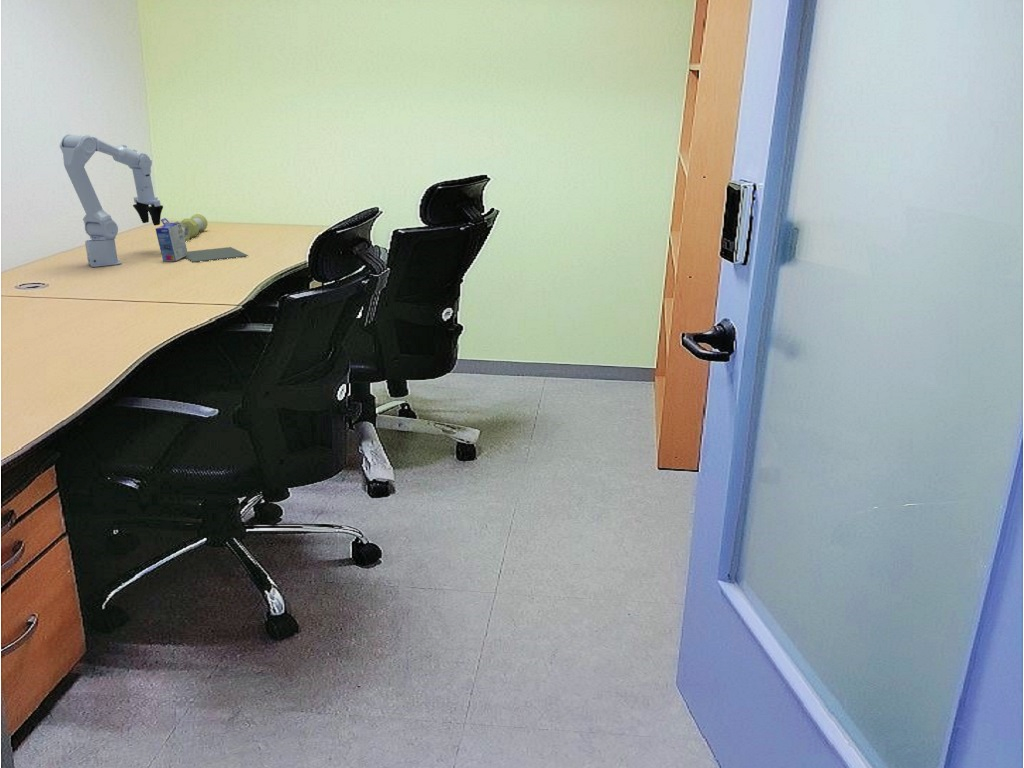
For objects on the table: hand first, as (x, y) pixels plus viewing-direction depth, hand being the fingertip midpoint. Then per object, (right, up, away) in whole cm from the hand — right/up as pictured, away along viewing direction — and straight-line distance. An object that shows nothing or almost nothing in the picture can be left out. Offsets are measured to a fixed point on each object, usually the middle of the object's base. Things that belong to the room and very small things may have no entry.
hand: (151, 223), depth 309 cm
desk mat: (+23, -12, 0) cm, 26 cm away
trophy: (0, +1, +37) cm, 37 cm away
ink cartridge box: (+12, -14, -7) cm, 20 cm away
